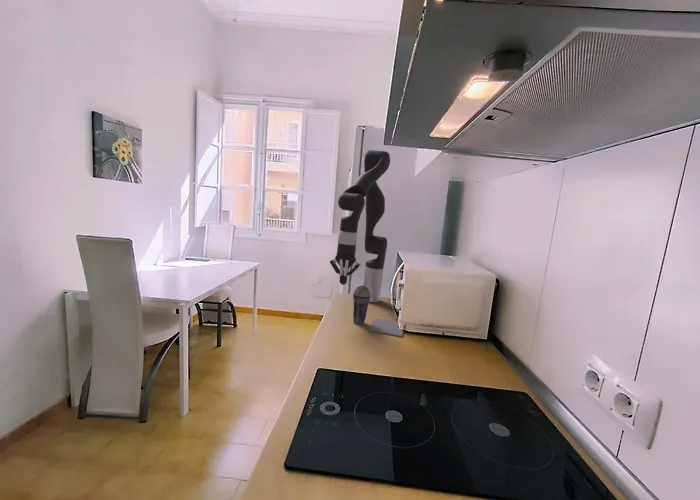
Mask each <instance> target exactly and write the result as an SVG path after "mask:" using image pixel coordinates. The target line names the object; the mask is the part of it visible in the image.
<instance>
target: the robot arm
mask: <svg viewBox="0 0 700 500" xmlns="http://www.w3.org/2000/svg"><path fill="white" fill-rule="evenodd" d="M363 160H364V161H363V163H364V164H363V165H364V167H363V168H364V172H363V173H362V174H360V175H359V176H358V177H357V178H356V179H355V181H354V183H352V185H351V186H349V187H348V188H347V189H345V190H344V191H343V192H341V194H340V195H339V196H338V200H337V203H338V204H337V205H338V207H339V209H340V210H342V211H348V212H351V214H350V215H347V216H342V217H341V219H340V226H339V233H338V239H337V246H336V247H337V248H336V255H335V256H334V258H333V259H331V260H330V261H329V264H330V265H331V267H332V268H333V270H334V272H335V273H336V274H338V275H339V280H338V281H339V283H340V285H342V286H345V285H346V284H347V283H348V276H351V275H352V274H353V273H355V271H357V269H359V267H361V264H360V263H359V262H357V258H356V253H357V252H356V250H357V243H358V242H357V241H358V227H359V222H360V218H361V215H362V212H363V211H364V207H365V235H364V251H365V253H368V254H372V255H377V257H376V258H374V259H368V260H366V262H365V266H364V267H365V268H364V276H363V285H362V286H364V283H365V278H366V275H367V279H366V284H365V286H366V287H367V288H368V289H369V291H370V296H371V297H370V300H369V303H374V304H375V303H380V301H381V300H380V299H381V291H382V283H383V274H384V268H385V267H384V266H385V261H386V259H385V258H386V253H387V248H388V240H387V238H386V237H385V236H381V235H380V236H379V235H374V229H375V227H376V226H377V224H378V223H379V221H380V220H381V219H382V217H383V216H384V213H385V210H386V206H385V205H386V204H385V203H386V199H385V195H384V193H383V191H382V189H381V188H380V187H379V185H378V182H377V181H378V180H379V179H380V178H381V177H382V176H383V175H384V174H385V173H386V172H387V171H388V170H389V167H390V164H391V156H390V153H389V152H388V151H385V150H384V151H383V150H373V149H372V150H371V149H369V150H367V151H366V152H365V154H364V159H363ZM337 264H338V265H337ZM338 266H339V267H338ZM352 266H353V268H352V269H350V268H351V267H352Z"/></svg>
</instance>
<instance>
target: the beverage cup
mask: <svg viewBox="0 0 700 500" xmlns="http://www.w3.org/2000/svg"><path fill="white" fill-rule="evenodd" d="M366 279H367V275H366V278H365V283H364V282H363V283H364V286H363V285H358V286H357V287H356V288H355V289H354V290H353V294H352V296H353V312H352V315H353V316H352V320H353V322H352V323H353V324H355V325H358V326H359V325H360V326H361V325H364V324H365V320H366V317H367V313H368V308H369V303H370V302H369V300H370V297H371V296H370V291H369V289H368V288H367V287H366V286H365V284H366Z"/></svg>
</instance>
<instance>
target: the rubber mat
mask: <svg viewBox="0 0 700 500" xmlns="http://www.w3.org/2000/svg"><path fill="white" fill-rule="evenodd" d="M398 322H399V321H395V320H389V319H388V320H387V319H382V318H376V317H375V318H374V319H373V321H372V323H371V325H370V327H368V332H370V333H377V334H380V335H386V336H393V337H399V338H402V337H403V334H404V331H402V330H400V329H399V328H398Z"/></svg>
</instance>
